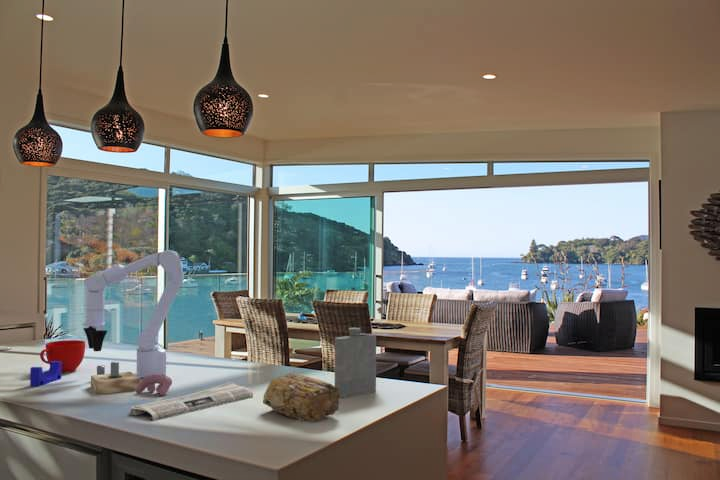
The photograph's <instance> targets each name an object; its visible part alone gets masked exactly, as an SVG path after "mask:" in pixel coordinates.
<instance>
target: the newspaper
mask: <svg viewBox="0 0 720 480" xmlns="http://www.w3.org/2000/svg"><path fill="white" fill-rule="evenodd" d="M253 397H254V393H253V391H252V389H251V388H248V387H247V386H242V385H238V384H236V383H235V382H234V381H233V380H232V381H229V382H225V383H222V384H219V385H216V386H212V387H209V388H205V389H203V390H200V391H196V392H193V393H190V394H186V395H183V396H182V395H181V396H177V397H173V398H167V399H164V400H158V401H152V402H148V403H147V402H146V403H144V404H137V405H132V406H130V408H131V409H130V411H129V412H130V414H131V415H134V416H136V415H137V416H139V415H141V414H150V415H151V417H149V419H150V420H151V419H152V421H157V420H161V419H166V418H169V417H174V416H178V415H177V414H179V415H182V414H181V413H183V414H185V412H187V413H190V412H189V411H191V412H195V411H198V409H200V410H202V409H203V408H204V409H208V408H211V406H212V407H216V406H220V405H219V404H221V405H223V403H225V404H228V403H227V402H229V403H233V402H236V401H241V400H246V399H249V398H253ZM232 401H233V402H232ZM215 405H216V406H215ZM207 407H208V408H207ZM204 409H203V410H204ZM194 410H195V411H194ZM173 415H174V416H173Z"/></svg>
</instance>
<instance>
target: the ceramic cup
mask: <svg viewBox="0 0 720 480" xmlns="http://www.w3.org/2000/svg"><path fill="white" fill-rule="evenodd" d="M85 352H86V341H84V340H76V339H73V340H70V339H69V340H55V341H50V342H46V343H45V348H44V349H42V350H41V352H40V354H39V357H40V359H41V361H42V363H44V364H48V365H49V366H50V362H52V361H62V362H61V373H72V372H75V371H76V370H77V369H78V367H79V366H80V365H81V363H82V362H83V359H84V357H85ZM44 355H45V356H46V359H45V357H44Z"/></svg>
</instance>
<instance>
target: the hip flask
mask: <svg viewBox="0 0 720 480" xmlns="http://www.w3.org/2000/svg"><path fill="white" fill-rule="evenodd" d="M348 333H349V335H345V336H344V335H343V336H340V337H339V336H338V337H335V338H334V386H335V387H336V388H338V391H339V394H340V397H339V398H338V400H339V399H346V398H349V397H353V396H358V395H359V396H360V395H363V394H369V393H375V392H377V333H361V328H360V327H349V328H348Z"/></svg>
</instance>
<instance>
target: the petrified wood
mask: <svg viewBox="0 0 720 480" xmlns="http://www.w3.org/2000/svg"><path fill="white" fill-rule="evenodd" d="M339 397H340V394H339V391H338V388H336V387H335V385H333V384H332V383H330V382H329V383H328V382H326V381H323V380H320V379H318V378H317V379H316V378H314V377H310V376H307V375H302V374H298V373H288V374H285V375H284V376H277V377H275V378H274V379H273V380H271V381H270V382H269V384H268V386H267V388H266V390H265V392H264V393H263V398H262V399H263V400H262V404H263V405H266V406H268V407H269V408H271V410H274V411H276V412H277V413H279V414H281V415H283V414H285V416H287V417H289V418H294V417H295V418H294V419H297V418H298V419H297V420H300V419H301V420H300V421H304V420H305V421H310V420H311V422H319V421H320V420H326V417H328V416H331V415H332V416H333V415H334V414H335V413H336V412H338V411H339V405H340V401H339V399H338V398H339ZM291 416H292V417H291Z"/></svg>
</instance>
